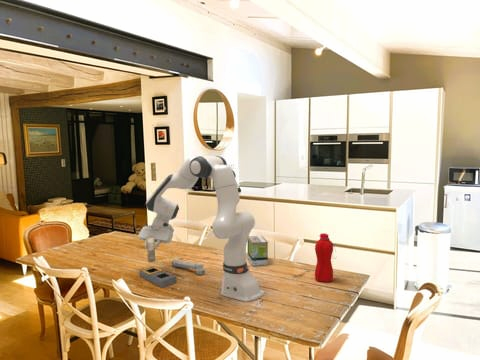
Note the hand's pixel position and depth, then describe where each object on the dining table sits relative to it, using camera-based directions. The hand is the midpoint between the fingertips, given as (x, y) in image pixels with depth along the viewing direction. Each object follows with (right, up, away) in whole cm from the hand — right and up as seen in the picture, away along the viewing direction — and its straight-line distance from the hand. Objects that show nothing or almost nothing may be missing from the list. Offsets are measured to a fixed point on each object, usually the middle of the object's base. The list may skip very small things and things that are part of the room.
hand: (150, 247), depth 201 cm
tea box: (+61, -13, +24) cm, 66 cm away
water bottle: (+96, -16, -6) cm, 97 cm away
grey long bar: (+20, -16, +12) cm, 28 cm away
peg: (0, -8, +2) cm, 8 cm away
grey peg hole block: (+4, -17, -1) cm, 18 cm away
